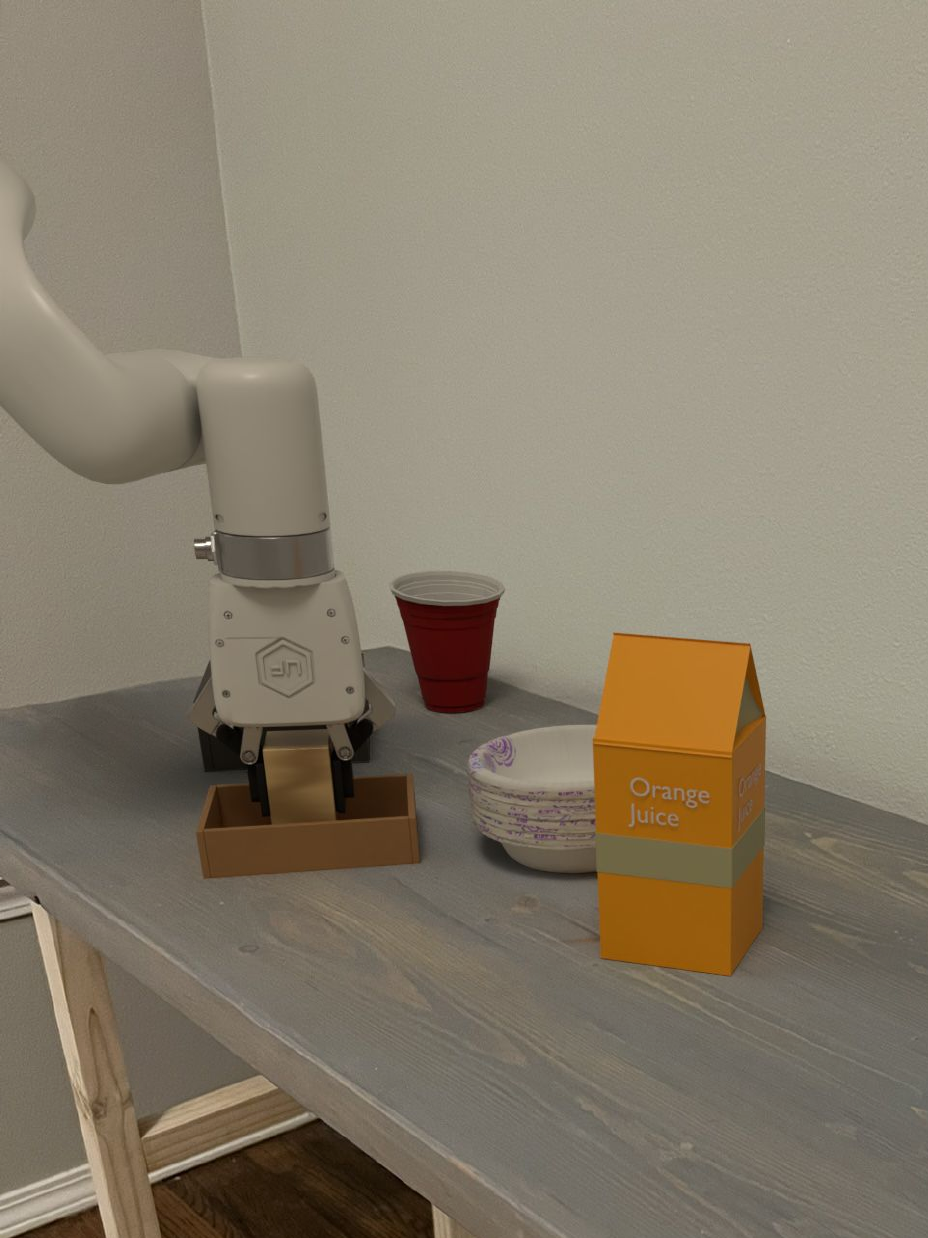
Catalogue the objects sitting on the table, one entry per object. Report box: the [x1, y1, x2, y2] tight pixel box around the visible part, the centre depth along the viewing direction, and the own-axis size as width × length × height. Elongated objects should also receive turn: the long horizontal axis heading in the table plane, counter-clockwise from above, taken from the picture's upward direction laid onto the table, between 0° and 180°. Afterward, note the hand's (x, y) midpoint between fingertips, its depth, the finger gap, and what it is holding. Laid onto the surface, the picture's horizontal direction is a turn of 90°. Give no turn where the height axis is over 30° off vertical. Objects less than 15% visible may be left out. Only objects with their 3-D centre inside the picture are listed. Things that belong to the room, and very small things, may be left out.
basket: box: [192, 652, 371, 773], centre depth 131 cm, size 14×14×7 cm
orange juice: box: [593, 632, 767, 977], centre depth 92 cm, size 8×9×20 cm
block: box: [263, 729, 337, 825], centre depth 108 cm, size 4×4×6 cm
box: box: [195, 772, 421, 880], centre depth 109 cm, size 15×10×4 cm, turn 102°
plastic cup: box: [388, 570, 506, 714], centre depth 142 cm, size 11×11×12 cm
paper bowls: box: [466, 724, 597, 874], centre depth 109 cm, size 15×15×8 cm
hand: (304, 806), depth 109 cm, fingers closed on block, 4 cm apart
